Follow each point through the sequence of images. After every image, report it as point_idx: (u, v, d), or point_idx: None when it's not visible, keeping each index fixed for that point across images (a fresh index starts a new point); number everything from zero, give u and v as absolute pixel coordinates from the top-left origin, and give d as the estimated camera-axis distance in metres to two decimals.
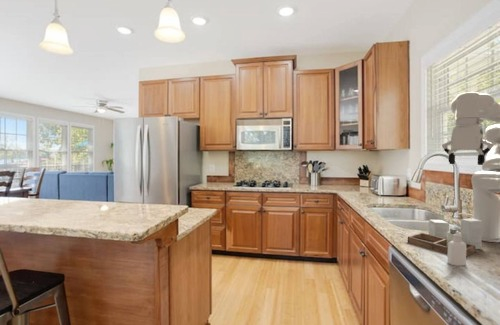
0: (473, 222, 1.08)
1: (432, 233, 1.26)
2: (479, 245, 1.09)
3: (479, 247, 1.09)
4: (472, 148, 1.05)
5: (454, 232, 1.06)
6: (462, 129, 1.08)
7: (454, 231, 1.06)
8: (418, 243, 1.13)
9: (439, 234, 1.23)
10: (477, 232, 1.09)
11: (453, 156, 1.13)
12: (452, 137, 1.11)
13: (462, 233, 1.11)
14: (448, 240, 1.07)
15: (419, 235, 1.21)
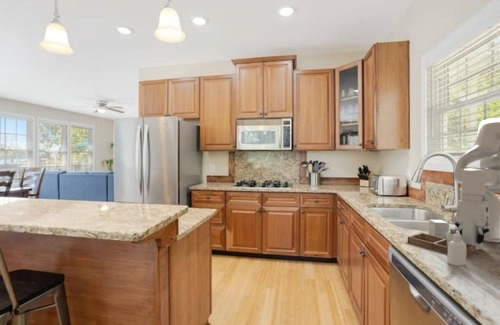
0: None
1: (432, 233, 1.26)
2: (480, 245, 1.09)
3: (480, 247, 1.09)
4: (477, 225, 1.06)
5: (454, 232, 1.06)
6: (467, 204, 1.09)
7: (454, 231, 1.06)
8: (418, 243, 1.13)
9: (439, 234, 1.23)
10: None
11: None
12: (457, 210, 1.12)
13: (464, 234, 1.10)
14: (448, 240, 1.07)
15: (419, 235, 1.21)
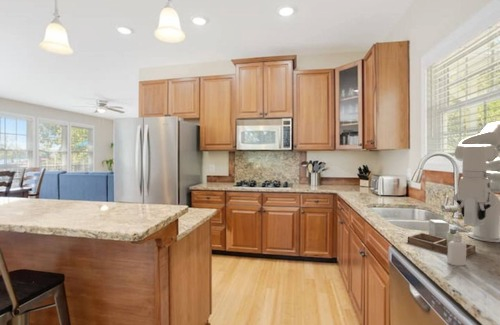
0: None
1: (432, 233, 1.26)
2: (482, 221, 1.09)
3: (482, 223, 1.09)
4: (479, 201, 1.06)
5: (454, 232, 1.06)
6: (469, 181, 1.09)
7: (454, 231, 1.06)
8: (418, 243, 1.13)
9: (439, 234, 1.23)
10: None
11: None
12: (459, 188, 1.12)
13: (466, 211, 1.10)
14: (448, 240, 1.07)
15: (419, 235, 1.21)
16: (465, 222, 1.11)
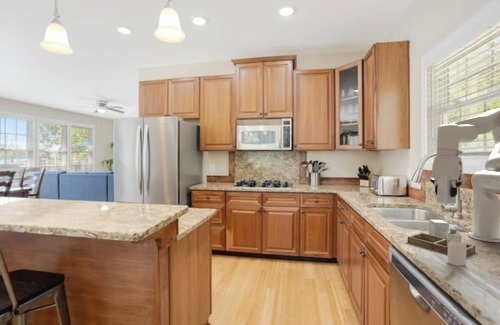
0: None
1: (432, 233, 1.26)
2: (454, 200, 1.11)
3: (454, 201, 1.11)
4: (451, 179, 1.09)
5: (454, 232, 1.06)
6: (442, 159, 1.11)
7: (454, 231, 1.06)
8: (418, 243, 1.13)
9: (439, 234, 1.23)
10: None
11: None
12: (433, 167, 1.15)
13: (439, 189, 1.13)
14: (448, 240, 1.07)
15: (419, 235, 1.21)
16: (438, 200, 1.13)
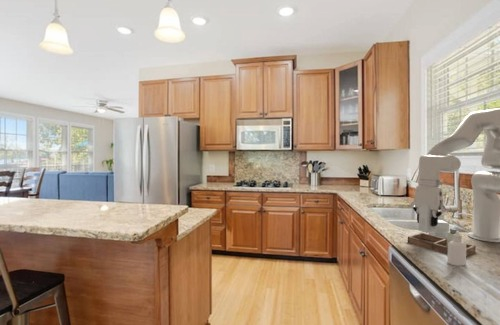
0: None
1: (432, 233, 1.26)
2: (435, 228, 1.14)
3: (435, 230, 1.14)
4: (432, 209, 1.12)
5: (454, 232, 1.06)
6: (423, 189, 1.14)
7: (454, 231, 1.06)
8: (418, 243, 1.13)
9: (439, 234, 1.23)
10: None
11: None
12: (415, 195, 1.18)
13: (420, 217, 1.16)
14: (448, 240, 1.07)
15: (419, 235, 1.21)
16: (419, 228, 1.16)
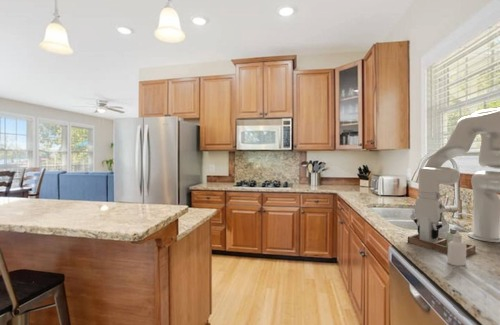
0: None
1: None
2: (436, 240, 1.15)
3: None
4: (432, 221, 1.12)
5: (454, 232, 1.06)
6: (423, 201, 1.14)
7: (454, 231, 1.06)
8: (418, 243, 1.13)
9: (439, 234, 1.23)
10: None
11: None
12: (415, 207, 1.18)
13: (421, 230, 1.16)
14: (448, 240, 1.07)
15: (419, 235, 1.21)
16: None
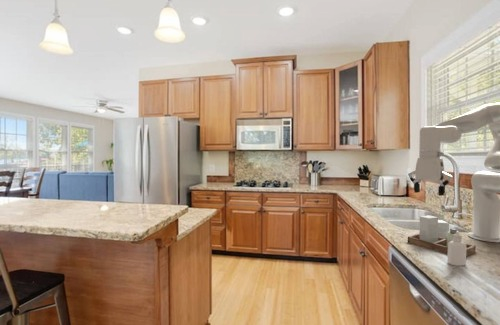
0: (431, 219, 1.13)
1: None
2: (436, 240, 1.15)
3: None
4: (433, 180, 1.11)
5: (454, 232, 1.06)
6: (424, 160, 1.14)
7: (454, 231, 1.06)
8: (418, 243, 1.13)
9: (439, 234, 1.23)
10: (434, 228, 1.14)
11: (418, 185, 1.19)
12: (416, 168, 1.17)
13: (421, 230, 1.16)
14: (448, 240, 1.07)
15: (419, 235, 1.21)
16: None
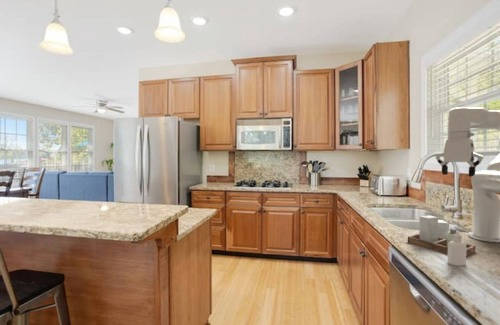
0: (431, 219, 1.13)
1: None
2: (436, 240, 1.15)
3: None
4: (463, 161, 1.11)
5: (454, 232, 1.06)
6: (454, 142, 1.13)
7: (454, 231, 1.06)
8: (418, 243, 1.13)
9: (439, 234, 1.23)
10: (434, 228, 1.14)
11: (446, 167, 1.18)
12: (444, 150, 1.17)
13: (421, 230, 1.16)
14: (448, 240, 1.07)
15: (419, 235, 1.21)
16: None
